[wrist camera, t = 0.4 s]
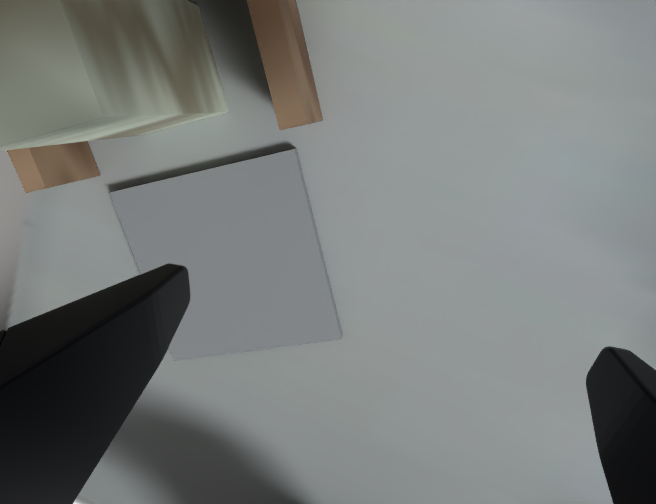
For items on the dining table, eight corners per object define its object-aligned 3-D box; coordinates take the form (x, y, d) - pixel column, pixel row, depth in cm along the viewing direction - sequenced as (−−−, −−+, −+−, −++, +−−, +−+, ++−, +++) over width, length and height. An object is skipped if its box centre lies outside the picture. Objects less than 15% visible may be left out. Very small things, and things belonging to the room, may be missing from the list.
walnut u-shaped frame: (323, 120, 21) (289, 126, 15) (82, 179, 24) (-33, 206, 18) (274, -94, 19) (207, -202, 12) (12, 3, 22) (-153, -40, 15)
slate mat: (342, 334, 25) (341, 339, 25) (177, 356, 27) (173, 360, 27) (296, 148, 22) (293, 149, 21) (114, 190, 24) (109, 192, 24)
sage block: (229, 112, 22) (103, 117, 13) (145, 134, 23) (-29, 153, 14) (198, 6, 20) (31, -78, 11) (110, 35, 22) (-110, -19, 12)
